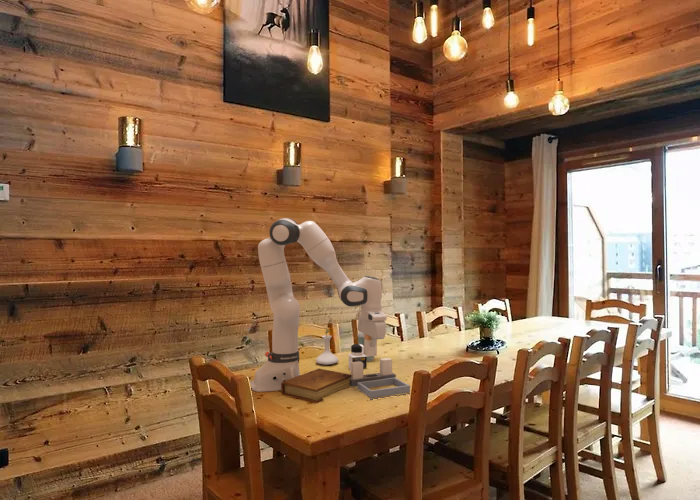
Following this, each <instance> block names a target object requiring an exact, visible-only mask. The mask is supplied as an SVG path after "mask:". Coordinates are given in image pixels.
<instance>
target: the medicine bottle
mask: <svg viewBox="0 0 700 500" xmlns="http://www.w3.org/2000/svg"><path fill="white" fill-rule="evenodd" d="M350 347H351V348H350V351H351V353H348V369H349V370H350V371H351V362H358V361H361V362H363V370H367V369H368V364H367V356H365V355H364V354H363V353H364V346H363V345H362V344H359V343H354V344H351V346H350Z"/></svg>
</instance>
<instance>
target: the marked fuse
mask: <svg viewBox="0 0 700 500" xmlns="http://www.w3.org/2000/svg"><path fill="white" fill-rule="evenodd" d="M371 341H372V339H371V336H369V335H366V334H364V355H365V356H367V357H368V356H374V357H375V356H376V357H377V355H378V354H377V353H378V351H377V350H378V340H377V341H376V343H375V347H371V346H370V343H371Z"/></svg>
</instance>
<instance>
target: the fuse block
mask: <svg viewBox="0 0 700 500" xmlns="http://www.w3.org/2000/svg"><path fill="white" fill-rule="evenodd" d="M387 378H397V375H396V374H395V373H394V372H392V374H390V375H381V374H380V372H376V373H368V374H363V378H359V379H352V378H351V377H350V386H349V387H350V388H353V387H355V388H357V382H365V381H372V380H380V379H387Z"/></svg>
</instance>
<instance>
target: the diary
mask: <svg viewBox="0 0 700 500" xmlns="http://www.w3.org/2000/svg"><path fill="white" fill-rule="evenodd" d="M350 377H352V375H351V373H350V374H349V373H345V372H339V371H335V370H334V371H333V370H328V369H323V368H317V369H313V370H311V371H308V372H306V373H303V374H300V376H297V377H294V378H292V379H289V380H286V381H283V382H282V383H281V390H280V391H281V394H282V395H284V396H287V397H291V398H295V399H298V400H303V401H306V402H311V403H315V404H319V403H321V402H323V401H324V399H323V398H325V397H327V396H329V395H331V394H334V393H336V392H339V391H340V390H341V391H342V390H343V389H345V388H348V387H351V386H350Z"/></svg>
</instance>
